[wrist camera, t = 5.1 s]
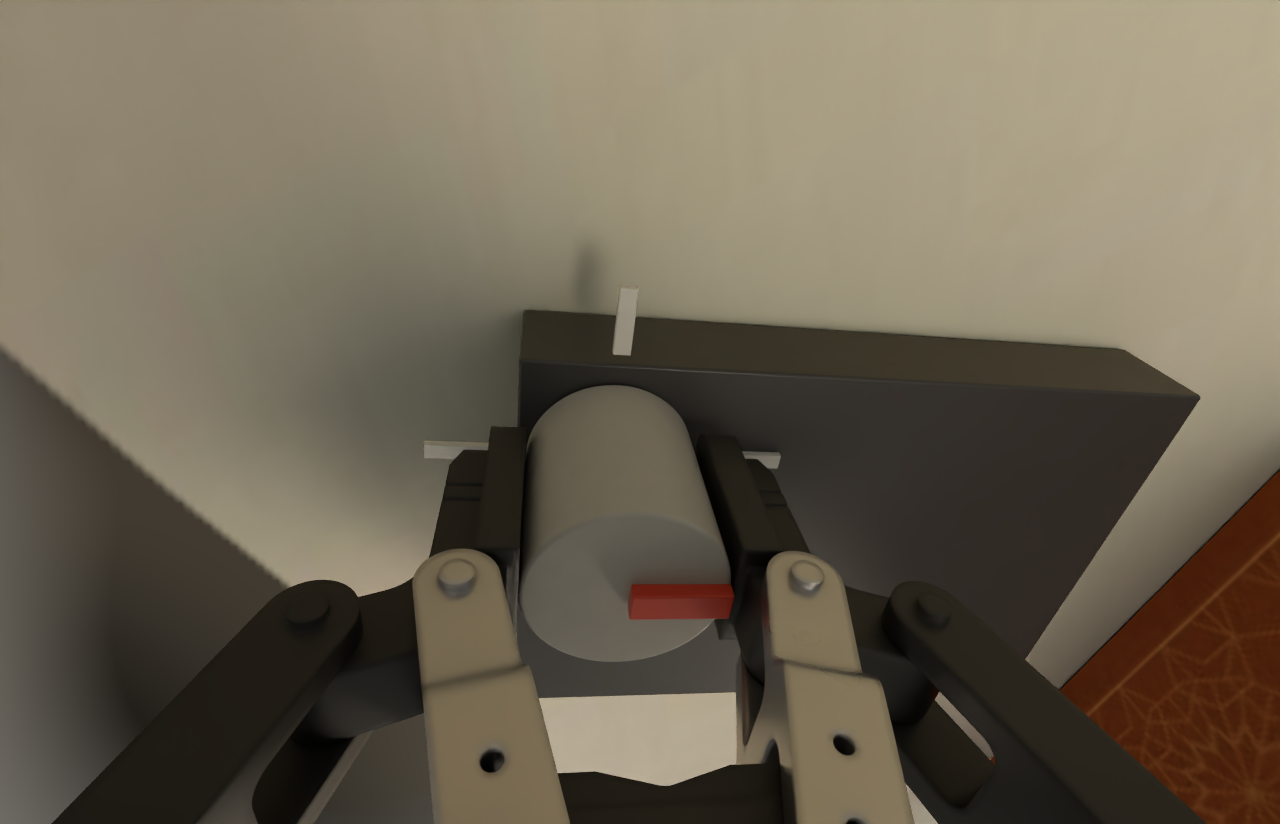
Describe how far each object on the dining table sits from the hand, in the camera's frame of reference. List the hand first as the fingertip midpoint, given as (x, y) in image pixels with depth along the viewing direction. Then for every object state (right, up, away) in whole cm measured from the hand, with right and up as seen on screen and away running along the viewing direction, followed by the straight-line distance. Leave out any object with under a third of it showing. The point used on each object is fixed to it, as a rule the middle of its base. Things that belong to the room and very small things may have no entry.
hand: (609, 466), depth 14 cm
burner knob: (0, 0, 0) cm, 0 cm away
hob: (+4, -1, +5) cm, 6 cm away
